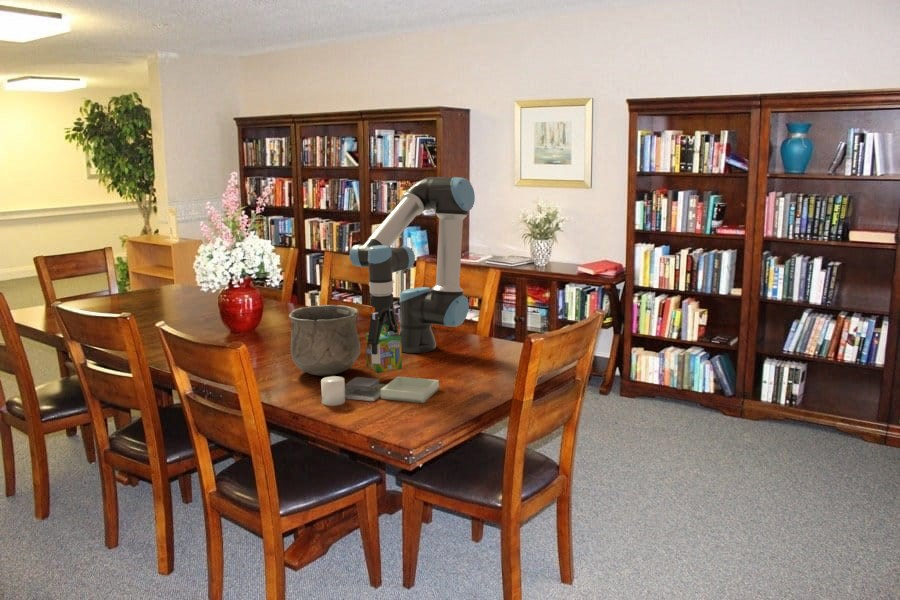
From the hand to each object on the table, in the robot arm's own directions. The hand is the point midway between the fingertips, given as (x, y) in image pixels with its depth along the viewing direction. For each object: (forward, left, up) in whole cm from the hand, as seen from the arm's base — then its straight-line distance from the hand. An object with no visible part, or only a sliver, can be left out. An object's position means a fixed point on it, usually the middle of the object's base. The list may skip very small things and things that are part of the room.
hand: (384, 357), depth 254 cm
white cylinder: (+25, -6, -8) cm, 27 cm away
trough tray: (+11, +13, -8) cm, 19 cm away
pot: (-1, -22, -8) cm, 24 cm away
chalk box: (0, 0, -4) cm, 4 cm away
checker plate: (+15, -1, -5) cm, 15 cm away
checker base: (+15, -1, -8) cm, 16 cm away
